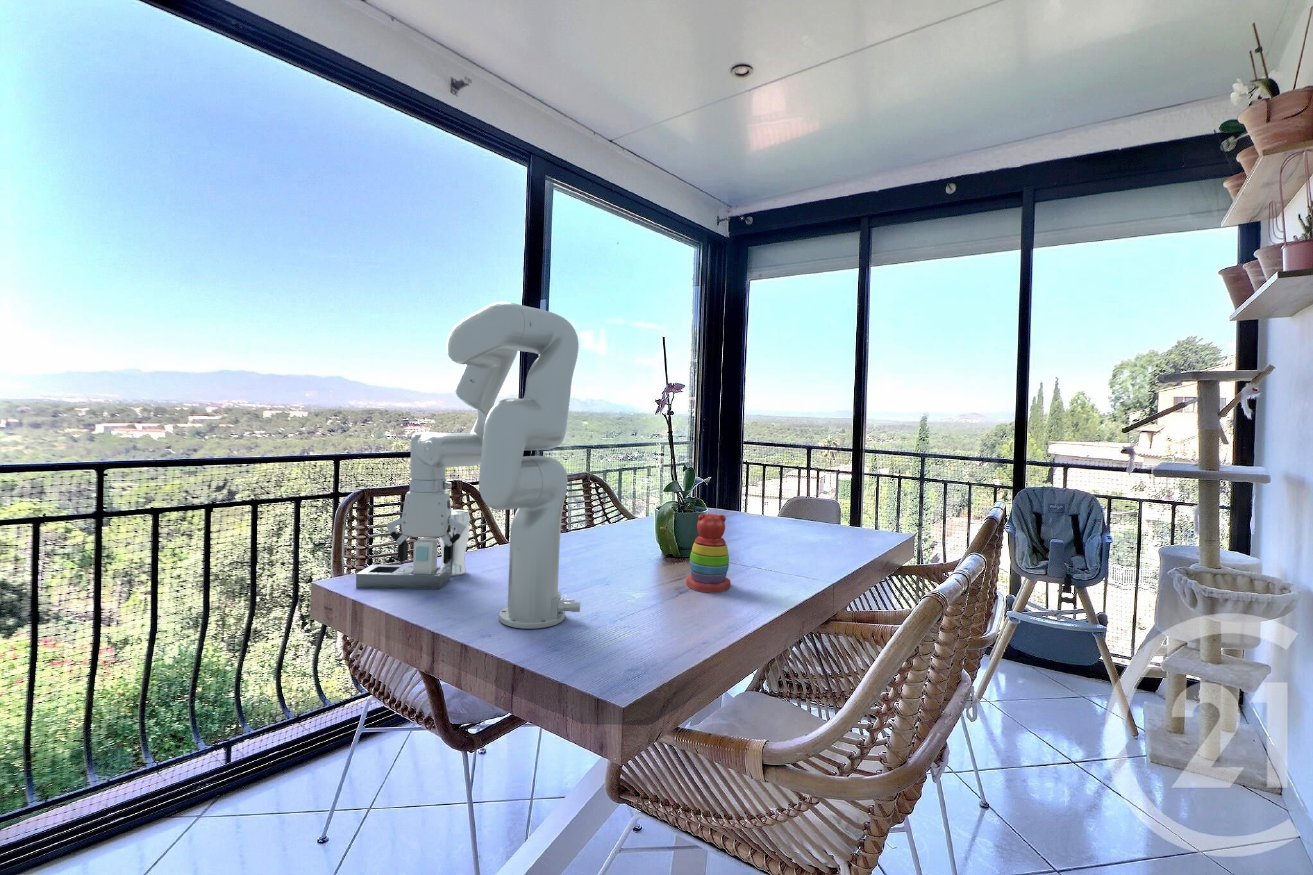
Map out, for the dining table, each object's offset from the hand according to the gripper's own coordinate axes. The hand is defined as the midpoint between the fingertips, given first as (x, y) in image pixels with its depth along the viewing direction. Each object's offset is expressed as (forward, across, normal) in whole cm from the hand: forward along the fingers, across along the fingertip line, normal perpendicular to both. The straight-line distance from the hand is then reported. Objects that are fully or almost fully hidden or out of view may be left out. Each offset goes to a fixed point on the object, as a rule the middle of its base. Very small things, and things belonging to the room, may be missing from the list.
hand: (425, 561), depth 135 cm
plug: (+5, 0, 0) cm, 5 cm away
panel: (+5, +4, 0) cm, 7 cm away
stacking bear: (+5, -66, -4) cm, 66 cm away
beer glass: (+5, -4, -10) cm, 12 cm away
